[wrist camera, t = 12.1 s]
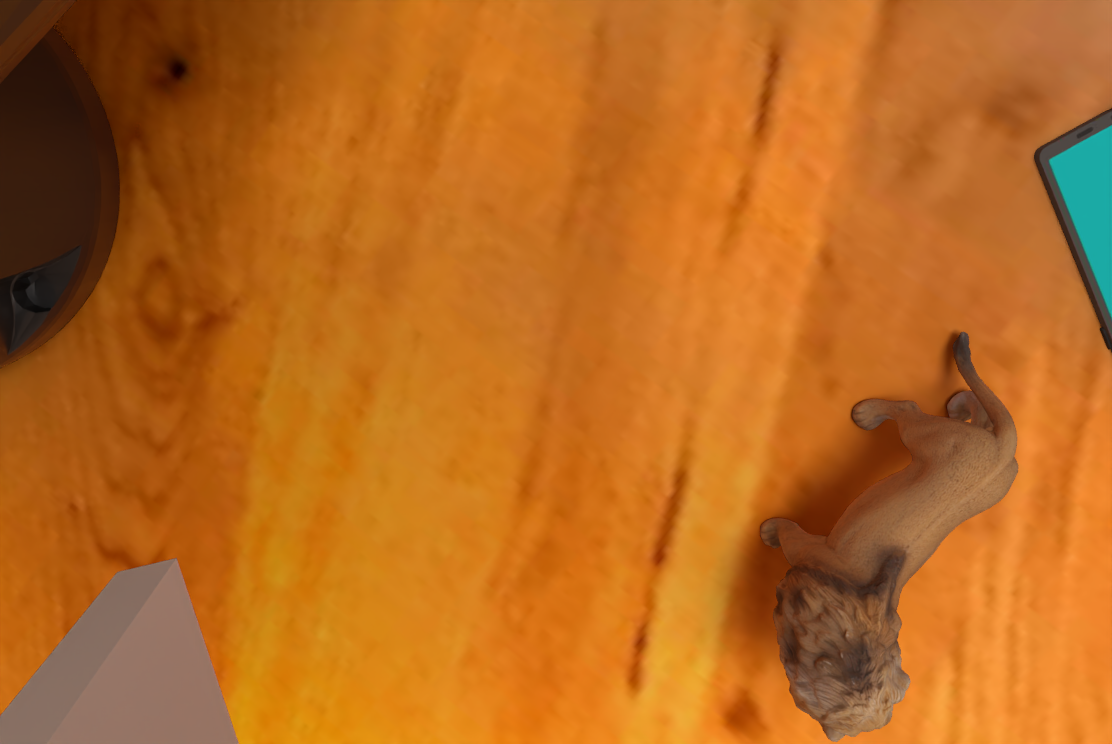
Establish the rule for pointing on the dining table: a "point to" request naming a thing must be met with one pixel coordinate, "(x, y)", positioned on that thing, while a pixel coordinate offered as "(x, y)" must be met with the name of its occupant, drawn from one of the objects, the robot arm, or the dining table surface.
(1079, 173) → the smartphone
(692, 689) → the dining table surface
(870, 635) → the lion figurine
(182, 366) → the dining table surface
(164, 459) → the dining table surface
